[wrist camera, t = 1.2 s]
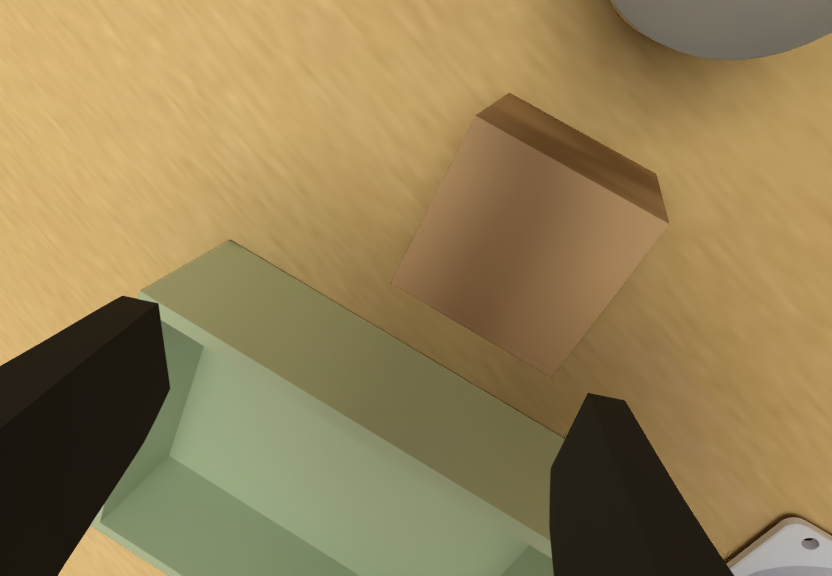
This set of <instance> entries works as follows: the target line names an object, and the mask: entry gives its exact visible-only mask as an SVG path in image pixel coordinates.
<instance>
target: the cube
mask: <svg viewBox="0 0 832 576" xmlns="http://www.w3.org/2000/svg"><path fill="white" fill-rule="evenodd" d="M668 225H669V221H668V217H667V213H666V210H665V206H664V202H663V198H662V195H661V191H660V187H659V183H658V180H657V176H656V174H655V173H653V172H651V171H650V170H648V169H646V168H644V167H642V166H641V165H639V164H637V163H635V162H633V161H632V160H630V159H628V158H626V157H624V156H623V155H621V154H619V153H617V152H615V151H614V150H612V149H610V148H608V147H606V146H605V145H603V144H601V143H599V142H597V141H596V140H594V139H592V138H590V137H588V136H587V135H585V134H583V133H581V132H579V131H578V130H576V129H574V128H572V127H570V126H569V125H567V124H565V123H563V122H561V121H560V120H558V119H556V118H554V117H552V116H550V115H549V114H547V113H545V112H543V111H541V110H540V109H538V108H536V107H534V106H532V105H531V104H529V103H527V102H525V101H523V100H522V99H520V98H518V97H516V96H514V95H513V94H511V93H509V94H507V95H506V96H504V97H503V98H501V99H500V100H498V101H497V102H495V103H494V104H492V105H491V106H489V107H488V108H486V109H485V110H483V111H482V112H480V113H479V114H477V115H476V116H475V118H474V120H473V122H472V124H471V126H470V128H469V130H468V132H467V134H466V136H465V137H464V139H463V141H462V143H461V145H460V147H459V149H458V151H457V153H456V155H455V157H454V159H453V161H452V163H451V165H450V167H449V169H448V171H447V173H446V175H445V177H444V179H443V181H442V183H441V185H440V187H439V189H438V191H437V193H436V195H435V197H434V199H433V201H432V203H431V205H430V207H429V209H428V210H427V212H426V214H425V216H424V218H423V220H422V222H421V224H420V226H419V228H418V230H417V232H416V234H415V236H414V238H413V240H412V242H411V244H410V246H409V248H408V250H407V252H406V254H405V256H404V258H403V260H402V262H401V264H400V266H399V268H398V270H397V272H396V274H395V276H394V278H393V280H392V282H391V284H393V285H395V286H396V287H398V288H400V289H401V290H403V291H405V292H406V293H408V294H410V295H412V296H413V297H415V298H417V299H418V300H420V301H422V302H423V303H425V304H427V305H428V306H430V307H432V308H434V309H435V310H437V311H439V312H440V313H442V314H444V315H445V316H447V317H449V318H451V319H452V320H454V321H456V322H457V323H459V324H461V325H462V326H464V327H466V328H468V329H469V330H471V331H473V332H474V333H476V334H478V335H479V336H481V337H483V338H485V339H486V340H488V341H490V342H491V343H493V344H495V345H496V346H498V347H500V348H502V349H503V350H505V351H507V352H508V353H510V354H512V355H513V356H515V357H517V358H519V359H520V360H522V361H524V362H525V363H527V364H529V365H530V366H532V367H534V368H536V369H537V370H539V371H541V372H542V373H544V374H546V375H547V376H549V377H551V378H552V376H553V375H554V374H555V372H556V371H557V370H558V369H559V367H560V366H561V365H562V363H563V362H564V361H565V359H566V358H567V357H568V356H569V354H570V353H571V352H572V350H573V349H574V348H575V346H576V345H577V344H578V343H579V341H580V340H581V339H582V337H583V336H584V335H585V333H586V332H587V331H588V329H589V328H590V327H591V326H592V324H593V323H594V322H595V320H596V319H597V318H598V316H599V315H600V314H601V313H602V311H603V310H604V309H605V307H606V306H607V305H608V303H609V302H610V301H611V299H612V298H613V297H614V296H615V294H616V293H617V292H618V290H619V289H620V288H621V286H622V285H623V284H624V283H625V281H626V280H627V279H628V277H629V276H630V275H631V273H632V272H633V271H634V270H635V268H636V267H637V266H638V264H639V263H640V262H641V260H642V259H643V258H644V256H645V255H646V254H647V253H648V251H649V250H650V249H651V247H652V246H653V245H654V243H655V242H656V241H657V240H658V238H659V237H660V236H661V234H662V233H663V232H664V230H665V229H666V228H667V227H668Z"/></svg>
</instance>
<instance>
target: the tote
mask: <svg viewBox="0 0 832 576" xmlns="http://www.w3.org/2000/svg"><path fill="white" fill-rule="evenodd" d="M138 299H140V300H145V301H150V302H155V303H158V304H159V311H160V318H161V325H162V332H163V339H164V347H165V354H166V361H167V368H168V375H169V382H170V390H169V393H168V395H167V397H166V399H165V401H164V403H163V405H162V407H161V410H160V412H159V414H158V416H157V418H156V420H155V422H154V424H153V426H152V428H151V430H150V432H149V434H148V436H147V438H146V440H145V442H144V443H143V445H142V447H141V448H140V450H139V451H138V453H137V454H136V456H135V458H134V459H133V461H132V462H131V464H130V465H129V467H128V468H127V470H126V471H125V473H124V475H123V476H122V478H121V479H120V481H119V482H118V484H117V485H116V487H115V488H114V490H113V491H112V493H111V494H110V496H109V498H108V499H107V501H106V502H105V504H104V505H103V507H102V508H101V510H100V511H99V513H98V514H97V516H96V517H95V519H94V520H93V522H92V523H91V525H90V526H92V527H94V528H95V529H97V530H98V531H100V532H101V533H103V534H104V535H106V536H107V537H109V538H111V539H112V540H114V541H115V542H117V543H118V544H120V545H121V546H123V547H125V548H126V549H128V550H129V551H131V552H132V553H134V554H135V555H137V556H138V557H140V558H142V559H143V560H145V561H146V562H148V563H149V564H151V565H152V566H154V567H156V568H157V569H159V570H160V571H162V572H163V573H165V574H166V575H168V576H554V573H553V563H552V552H551V541H550V530H549V506H550V470H551V466H552V464H553V462H554V460H555V458H556V456H557V454H558V452H559V450H560V448H561V446H562V444H563V442H564V440H565V439H564V438H562V437H561V436H559V435H557V434H556V433H554V432H552V431H551V430H549V429H547V428H546V427H544V426H542V425H541V424H539V423H537V422H535V421H534V420H532V419H530V418H529V417H527V416H525V415H524V414H522V413H520V412H519V411H517V410H515V409H514V408H512V407H510V406H509V405H507V404H505V403H504V402H502V401H500V400H499V399H497V398H495V397H493V396H492V395H490V394H488V393H487V392H485V391H483V390H482V389H480V388H478V387H477V386H475V385H473V384H472V383H470V382H468V381H467V380H465V379H463V378H462V377H460V376H458V375H456V374H455V373H453V372H451V371H450V370H448V369H446V368H445V367H443V366H441V365H440V364H438V363H436V362H435V361H433V360H431V359H430V358H428V357H426V356H425V355H423V354H421V353H419V352H418V351H416V350H414V349H413V348H411V347H409V346H408V345H406V344H404V343H403V342H401V341H399V340H398V339H396V338H394V337H393V336H391V335H389V334H388V333H386V332H384V331H383V330H381V329H379V328H377V327H376V326H374V325H372V324H371V323H369V322H367V321H366V320H364V319H362V318H361V317H359V316H357V315H356V314H354V313H352V312H351V311H349V310H347V309H346V308H344V307H342V306H340V305H339V304H337V303H335V302H334V301H332V300H330V299H329V298H327V297H325V296H324V295H322V294H320V293H319V292H317V291H315V290H314V289H312V288H310V287H309V286H307V285H305V284H303V283H302V282H300V281H298V280H297V279H295V278H293V277H292V276H290V275H288V274H287V273H285V272H283V271H282V270H280V269H278V268H277V267H275V266H273V265H272V264H270V263H268V262H267V261H265V260H263V259H261V258H260V257H258V256H256V255H255V254H253V253H251V252H250V251H248V250H246V249H245V248H243V247H241V246H240V245H238V244H236V243H235V242H233V241H231V240H229V241H227V242H225V243H223V244H221V245H220V246H218V247H216V248H214V249H213V250H211V251H209V252H207V253H206V254H204V255H202V256H200V257H198V258H197V259H195V260H193V261H191V262H190V263H188V264H186V265H184V266H183V267H181V268H179V269H177V270H175V271H174V272H172V273H170V274H168V275H167V276H165V277H163V278H161V279H160V280H158V281H156V282H154V283H152V284H151V285H149V286H147V287H145V288H144V289H142V290H140V291H139V295H138Z"/></svg>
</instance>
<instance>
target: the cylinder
mask: <svg viewBox="0 0 832 576" xmlns="http://www.w3.org/2000/svg"><path fill="white" fill-rule="evenodd" d="M609 1H610V3H611V4H612V6H613V8H614V9H615V11H616V12H617V13H618V15H619V16H620V17H621V18H622V19H623V20H624V21H625V22H626V23H627V24H628V25H629V26H630V27H631V28H633V29H634V30H636V31H637V32H639V33H640V34H642V35H644V36H646V37H648V38H650V39H652V40H654V41H656V42H658V43H660V44H662V45H665V46H667V47H669V48H671V49H674V50H676V51H678V52H682V53H685V54H689V55H692V56H696V57H702V58H709V59H716V60H743V59H751V58H760V57H765V56H769V55H774V54H778V53H782V52H786V51H789V50H791V49H794V48H797V47H800V46H803V45H805V44H808V43H810V42H813V41H815V40H817V39H819V38H821V37H823V36H825V35H827V34H829V33H831V32H832V0H609Z"/></svg>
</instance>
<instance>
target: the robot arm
mask: <svg viewBox="0 0 832 576" xmlns="http://www.w3.org/2000/svg"><path fill="white" fill-rule="evenodd" d="M169 390H170V382H169V375H168V368H167V361H166V354H165V347H164V339H163V332H162V325H161V318H160V311H159V304H158V303H155V302H150V301H145V300H140V299H136V298H131V297H126V296H121V297H119V298H118V299H116V300H114V301H112V302H110V303H108V304H107V305H105V306H103V307H101V308H100V309H98V310H96V311H94V312H93V313H91V314H89V315H88V316H86V317H84V318H83V319H81V320H79V321H77V322H76V323H74V324H72V325H71V326H69V327H67V328H66V329H64V330H62V331H60V332H59V333H57V334H55V335H54V336H52V337H50V338H49V339H47V340H45V341H43V342H42V343H40V344H38V345H36V346H35V347H33V348H31V349H29V350H28V351H26V352H24V353H22V354H21V355H19V356H17V357H15V358H14V359H12V360H10V361H8V362H7V363H5V364H3V365H1V366H0V576H58V574H59V572H60V571H61V569H62V568H63V566H64V564H65V563H66V561H67V560H68V558H69V557H70V555H71V554H72V552H73V551H74V549H75V548H76V546H77V545H78V543H79V542H80V540H81V539H82V537H83V535H84V534H85V532H86V531H87V529H88V528H89V526H90V525H91V523H92V522H93V520H94V519H95V517H96V516H97V514H98V513H99V511H100V510H101V508H102V507H103V505H104V504H105V502H106V501H107V499H108V498H109V496H110V494H111V493H112V491H113V490H114V488H115V487H116V485H117V484H118V482H119V481H120V479H121V478H122V476H123V475H124V473H125V471H126V470H127V468H128V467H129V465H130V464H131V462H132V461H133V459H134V458H135V456H136V454H137V453H138V451H139V450H140V448H141V447H142V445H143V443H144V442H145V440H146V438H147V436H148V434H149V432H150V430H151V428H152V426H153V424H154V422H155V420H156V418H157V416H158V414H159V412H160V410H161V407H162V405H163V403H164V401H165V399H166V397H167V395H168V393H169ZM549 530H550V541H551V552H552V563H553V573H554V576H832V536H831V535H829V534H828V533H826V532H824V531H823V530H821V529H819V528H817V527H816V526H814V525H812V524H811V523H809V522H807V521H806V520H803V519H801V518H795V517H791V518H786V519H784V520H782V521H781V522H779V523H778V524H777V525H775V526H774V527H773V528H772V529H770V530H769V531H768V532H767V533H765V534H764V535H763V536H761V537H760V538H759V539H758V540H756V541H755V542H754V543H752V544H751V545H750V546H749V547H747V548H746V549H745V550H743V551H742V552H741V553H740V554H738V555H737V556H736V557H734V558H733V559H732V560H731V561H729V562H728V563H727V564H726V563H725V562H724V560H723V559H722V557H721V556H720V554H719V553H718V551H717V550H716V548H715V547H714V545H713V544H712V542H711V541H710V539H709V538H708V536H707V534H706V533H705V531H704V530H703V528H702V527H701V525H700V524H699V522H698V520H697V519H696V517H695V516H694V514H693V513H692V511H691V509H690V508H689V506H688V505H687V503H686V502H685V500H684V498H683V497H682V495H681V494H680V492H679V490H678V489H677V487H676V485H675V484H674V482H673V481H672V479H671V477H670V476H669V474H668V472H667V471H666V469H665V467H664V466H663V464H662V462H661V461H660V459H659V457H658V456H657V454H656V452H655V450H654V449H653V447H652V445H651V444H650V442H649V440H648V439H647V437H646V435H645V434H644V432H643V430H642V428H641V427H640V425H639V423H638V422H637V420H636V418H635V417H634V415H633V413H632V412H631V410H630V408H629V407H628V405H627V403H626V402H625V401H624V400H619V399H615V398H610V397H605V396H600V395H595V394H591V393H588V394H587V396H586V398H585V400H584V402H583V404H582V406H581V408H580V410H579V412H578V414H577V416H576V418H575V420H574V422H573V424H572V426H571V428H570V430H569V432H568V434H567V436H566V438H565V440H564V442H563V444H562V446H561V448H560V450H559V452H558V454H557V456H556V458H555V460H554V462H553V464H552V466H551V470H550V506H549ZM806 538H813V540H810V541H805V540H804V539H806Z"/></svg>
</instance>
